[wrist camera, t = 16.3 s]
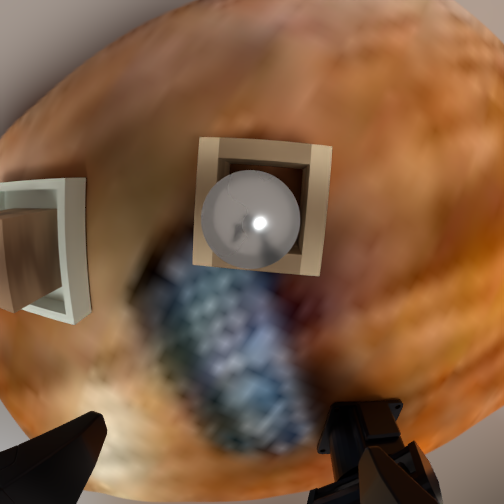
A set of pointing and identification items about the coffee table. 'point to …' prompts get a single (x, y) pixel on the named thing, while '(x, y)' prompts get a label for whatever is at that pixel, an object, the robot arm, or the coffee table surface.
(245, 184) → the cylinder
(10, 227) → the walnut block
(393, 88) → the coffee table surface
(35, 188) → the tray
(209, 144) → the beige square frame
